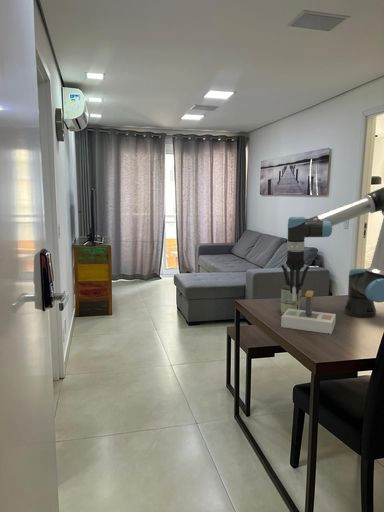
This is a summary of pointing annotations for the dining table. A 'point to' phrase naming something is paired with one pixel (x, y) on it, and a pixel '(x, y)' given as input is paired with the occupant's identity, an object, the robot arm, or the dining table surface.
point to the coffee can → (289, 299)
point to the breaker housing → (308, 321)
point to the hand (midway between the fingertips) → (294, 300)
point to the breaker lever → (309, 302)
